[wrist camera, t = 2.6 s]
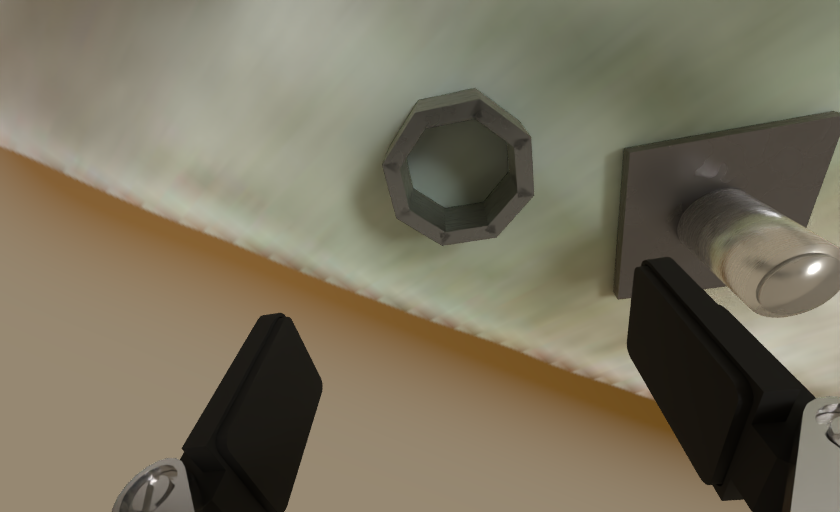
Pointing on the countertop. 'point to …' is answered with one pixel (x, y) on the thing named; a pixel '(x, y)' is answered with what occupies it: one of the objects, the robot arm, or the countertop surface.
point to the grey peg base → (734, 212)
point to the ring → (463, 219)
